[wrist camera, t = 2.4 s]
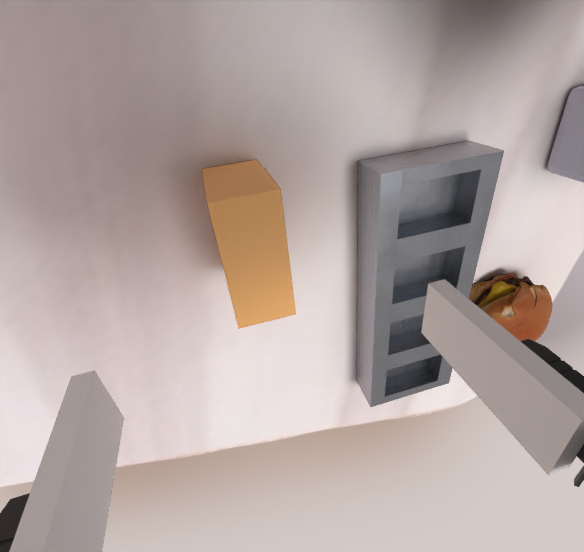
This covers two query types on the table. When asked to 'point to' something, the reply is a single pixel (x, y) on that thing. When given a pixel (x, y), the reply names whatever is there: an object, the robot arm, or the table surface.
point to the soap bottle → (570, 139)
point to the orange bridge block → (251, 240)
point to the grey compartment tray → (415, 256)
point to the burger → (514, 304)
